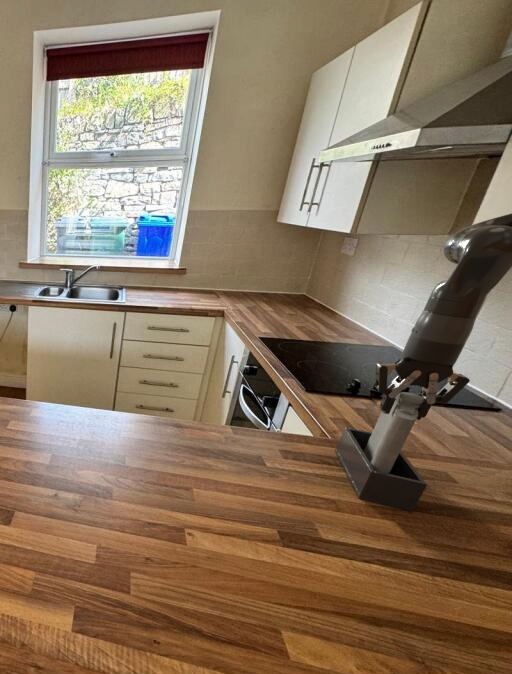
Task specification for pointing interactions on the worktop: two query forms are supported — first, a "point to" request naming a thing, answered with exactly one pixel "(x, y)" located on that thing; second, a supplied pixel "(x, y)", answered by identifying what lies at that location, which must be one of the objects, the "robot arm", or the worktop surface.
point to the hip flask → (392, 432)
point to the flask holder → (378, 474)
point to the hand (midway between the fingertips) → (400, 414)
